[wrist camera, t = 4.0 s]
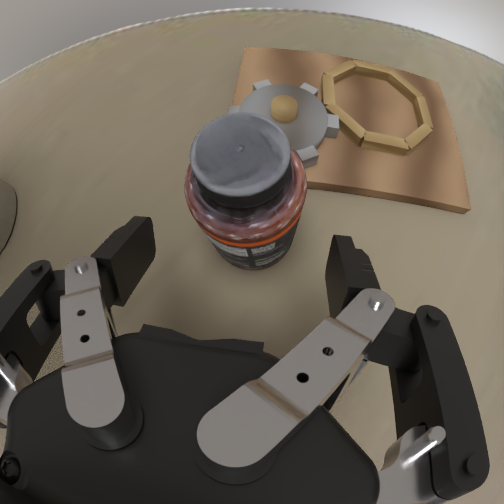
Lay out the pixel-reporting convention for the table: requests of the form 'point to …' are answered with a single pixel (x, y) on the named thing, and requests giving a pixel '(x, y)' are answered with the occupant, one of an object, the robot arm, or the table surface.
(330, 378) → the robot arm
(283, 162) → the supplement bottle
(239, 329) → the table surface
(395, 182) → the board
